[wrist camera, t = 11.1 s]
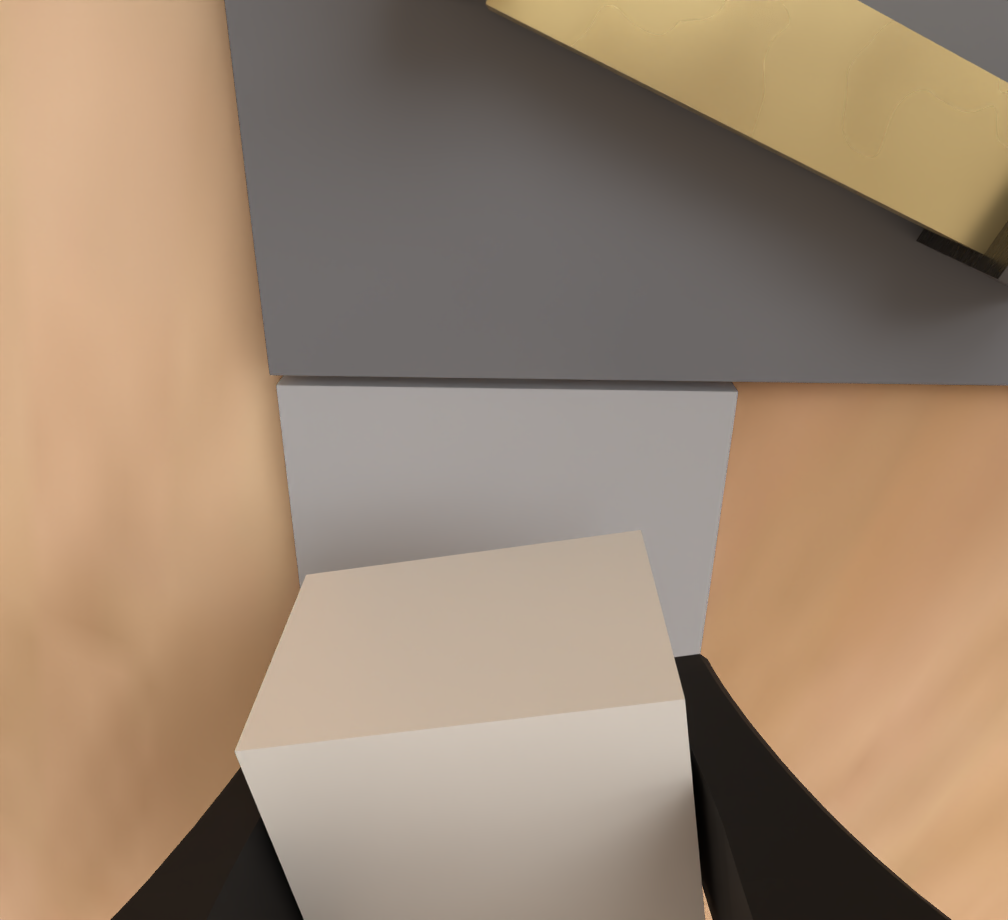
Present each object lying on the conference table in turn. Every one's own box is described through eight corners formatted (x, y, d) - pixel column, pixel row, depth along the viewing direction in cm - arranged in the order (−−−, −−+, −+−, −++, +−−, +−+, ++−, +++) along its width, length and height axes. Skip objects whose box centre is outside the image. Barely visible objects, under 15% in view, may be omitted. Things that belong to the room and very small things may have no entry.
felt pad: (731, 381, 15) (738, 391, 14) (683, 721, 18) (687, 738, 18) (283, 375, 15) (276, 385, 14) (321, 716, 18) (316, 732, 18)
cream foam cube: (641, 530, 12) (685, 699, 9) (668, 779, 14) (711, 986, 11) (305, 574, 12) (235, 751, 9) (381, 810, 15) (344, 1019, 11)
